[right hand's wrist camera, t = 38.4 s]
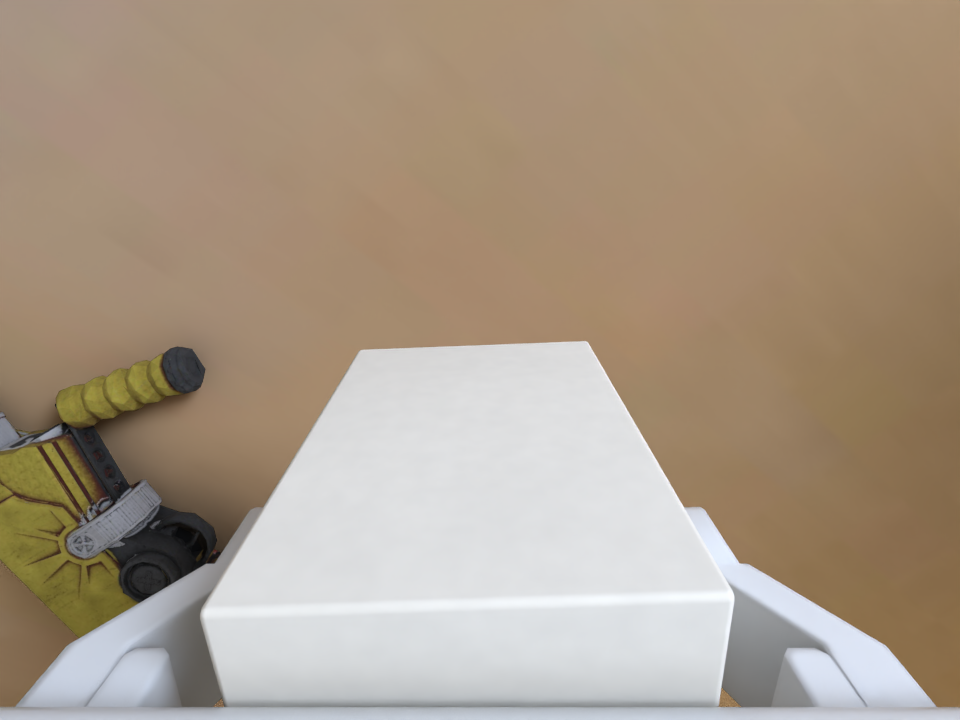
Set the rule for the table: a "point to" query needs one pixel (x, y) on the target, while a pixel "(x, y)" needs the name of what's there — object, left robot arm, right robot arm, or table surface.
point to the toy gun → (96, 503)
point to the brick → (472, 549)
